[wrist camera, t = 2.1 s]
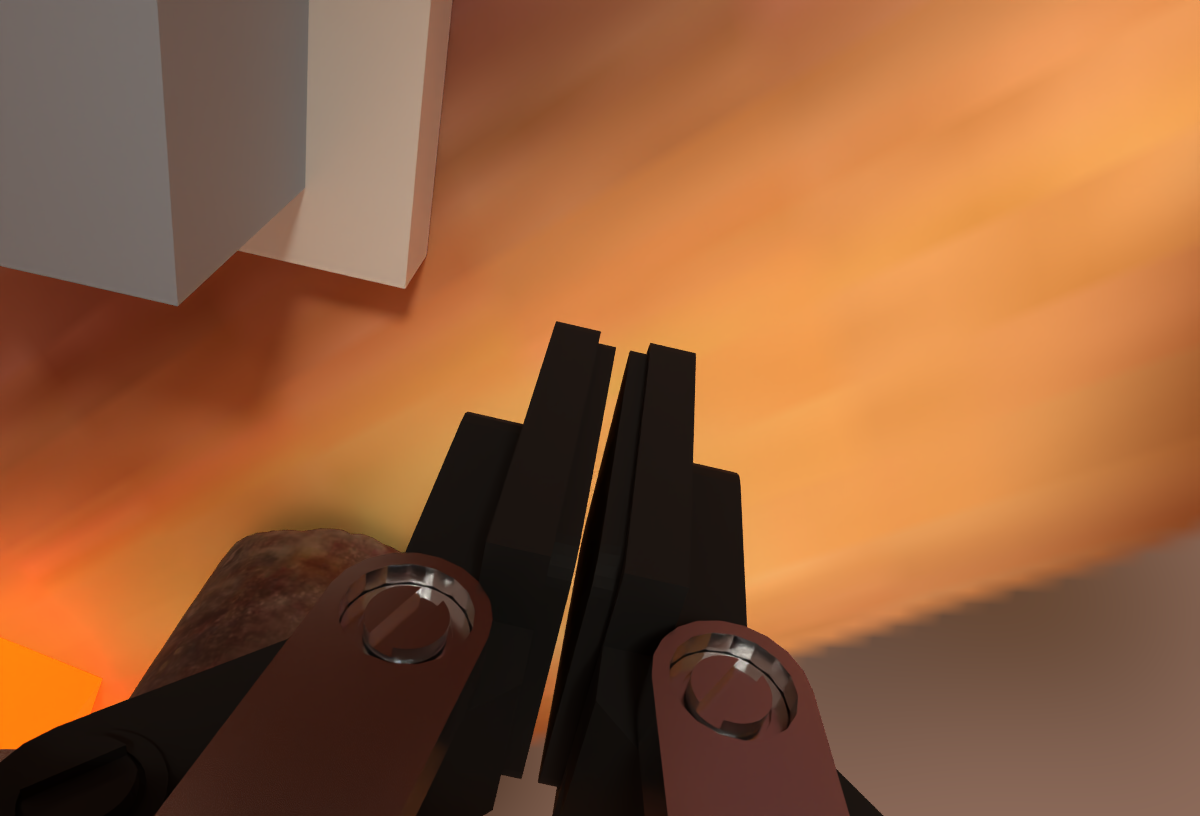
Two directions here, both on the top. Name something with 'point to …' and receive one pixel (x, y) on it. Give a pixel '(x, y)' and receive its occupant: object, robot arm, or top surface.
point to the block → (147, 136)
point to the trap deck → (367, 141)
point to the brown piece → (256, 598)
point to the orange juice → (39, 694)
